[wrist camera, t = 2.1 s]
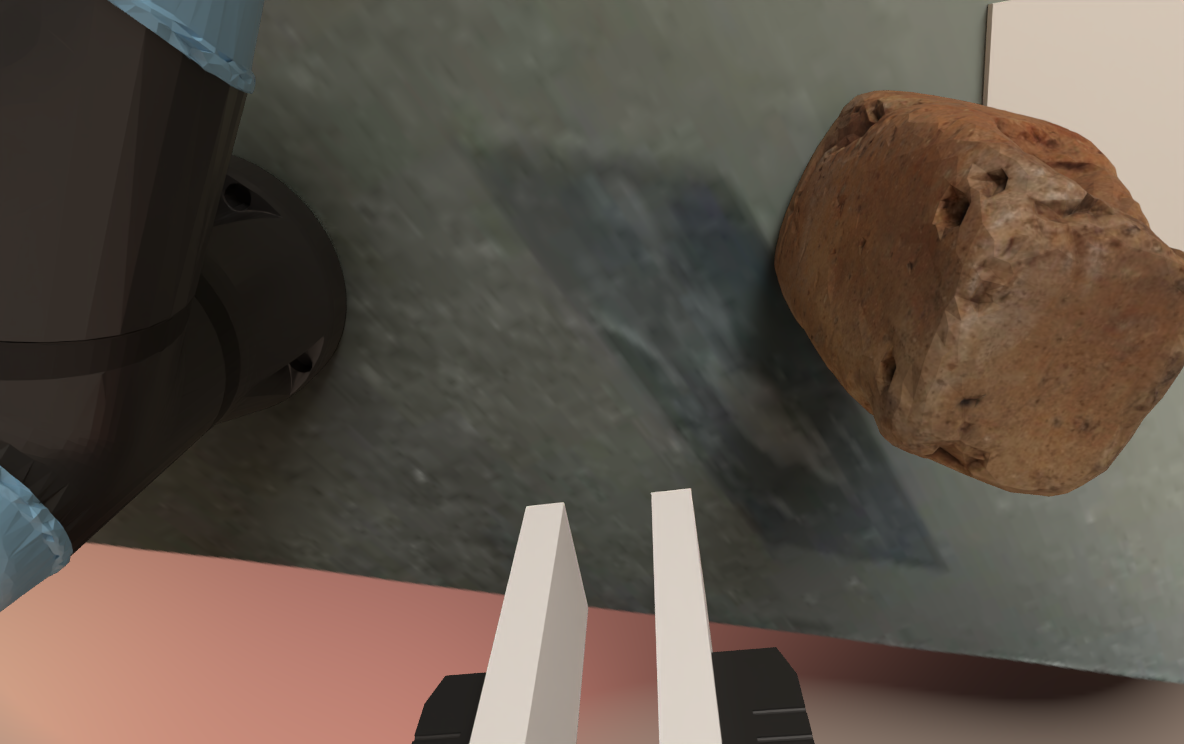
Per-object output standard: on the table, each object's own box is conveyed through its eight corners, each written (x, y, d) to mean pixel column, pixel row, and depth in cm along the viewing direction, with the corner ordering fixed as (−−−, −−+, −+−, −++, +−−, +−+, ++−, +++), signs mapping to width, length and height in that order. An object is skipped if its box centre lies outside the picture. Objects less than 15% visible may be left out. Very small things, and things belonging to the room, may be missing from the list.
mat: (970, 322, 39) (979, 330, 38) (988, 4, 32) (999, 3, 31) (1288, 280, 37) (1306, 287, 36) (1375, -69, 30) (1400, -72, 29)
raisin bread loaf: (880, 309, 39) (1092, 538, 21) (753, 275, 38) (855, 478, 20) (974, 110, 34) (1351, 180, 16) (830, 68, 34) (1051, 93, 16)
